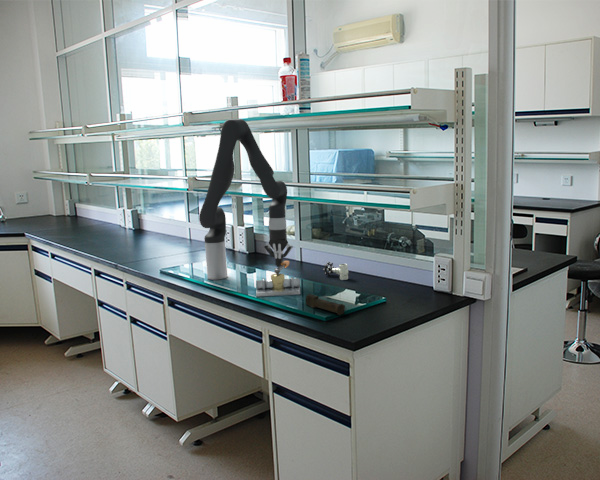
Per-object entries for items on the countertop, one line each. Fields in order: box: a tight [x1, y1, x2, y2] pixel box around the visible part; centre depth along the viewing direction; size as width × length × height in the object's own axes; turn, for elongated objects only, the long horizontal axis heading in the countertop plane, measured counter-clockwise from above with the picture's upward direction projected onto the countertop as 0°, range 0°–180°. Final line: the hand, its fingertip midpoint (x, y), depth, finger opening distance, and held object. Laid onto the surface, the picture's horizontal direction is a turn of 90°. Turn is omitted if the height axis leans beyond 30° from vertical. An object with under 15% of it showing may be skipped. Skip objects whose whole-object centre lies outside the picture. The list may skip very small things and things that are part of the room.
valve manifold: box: [255, 272, 301, 298], centre depth 229 cm, size 12×18×8 cm, turn 92°
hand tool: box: [305, 293, 346, 316], centre depth 203 cm, size 19×4×5 cm, turn 40°
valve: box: [322, 261, 349, 281], centre depth 247 cm, size 7×7×12 cm
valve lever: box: [274, 260, 290, 274], centre depth 234 cm, size 15×2×2 cm, turn 165°
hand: (279, 266), depth 240 cm, fingers closed
